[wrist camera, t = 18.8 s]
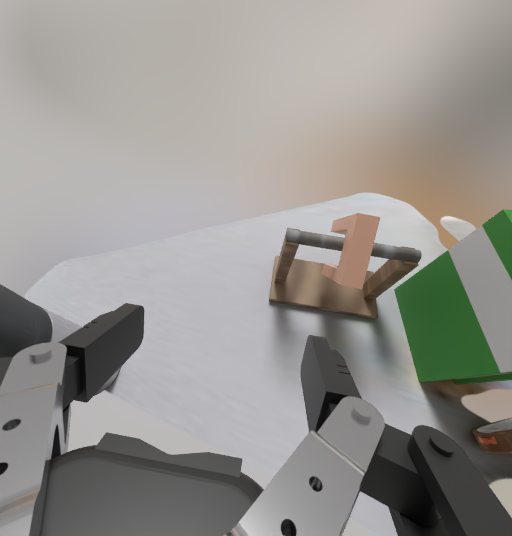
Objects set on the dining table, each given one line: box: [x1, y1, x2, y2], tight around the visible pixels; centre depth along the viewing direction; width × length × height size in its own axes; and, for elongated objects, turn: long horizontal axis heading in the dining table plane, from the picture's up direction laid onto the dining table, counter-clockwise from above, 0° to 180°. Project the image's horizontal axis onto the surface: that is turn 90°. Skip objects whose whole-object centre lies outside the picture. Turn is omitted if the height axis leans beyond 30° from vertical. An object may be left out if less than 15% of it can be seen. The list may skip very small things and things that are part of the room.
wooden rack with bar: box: [269, 228, 421, 319], centre depth 43 cm, size 21×10×16 cm, turn 81°
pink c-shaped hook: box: [322, 213, 380, 289], centre depth 39 cm, size 3×10×12 cm
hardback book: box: [394, 210, 512, 384], centre depth 36 cm, size 18×7×24 cm, turn 178°
